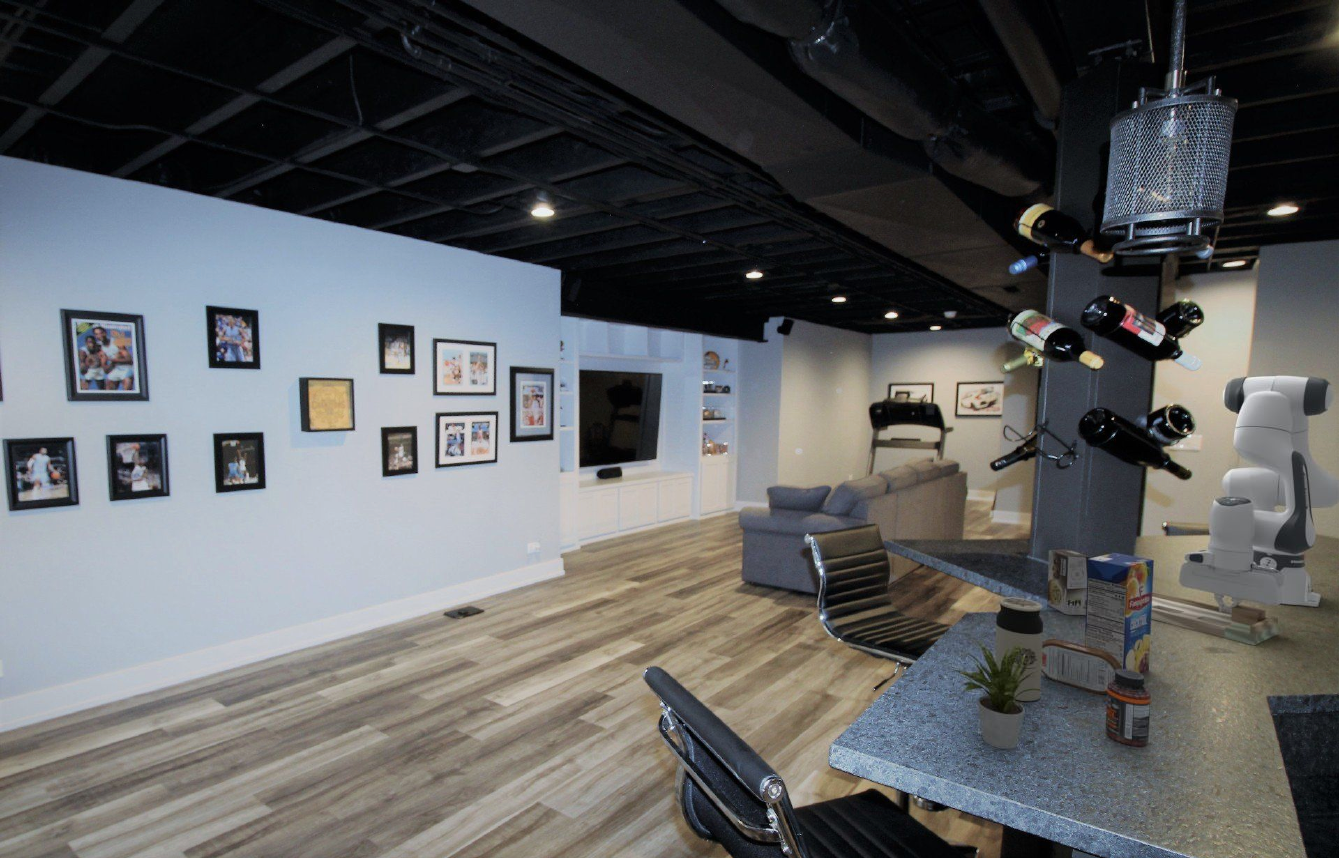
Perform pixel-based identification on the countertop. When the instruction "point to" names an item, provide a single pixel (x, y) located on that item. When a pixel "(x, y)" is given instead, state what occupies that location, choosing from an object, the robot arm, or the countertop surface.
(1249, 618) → the walnut block
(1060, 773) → the countertop surface
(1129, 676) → the supplement bottle
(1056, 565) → the coffee box
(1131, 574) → the juice carton
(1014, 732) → the house plant
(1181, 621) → the box
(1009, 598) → the travel mug
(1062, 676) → the tin
